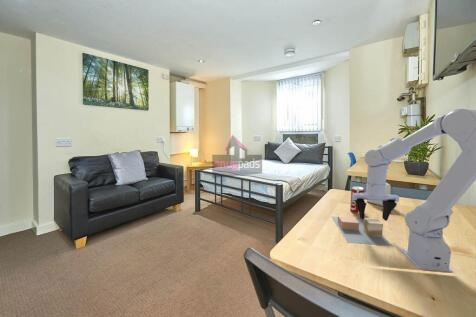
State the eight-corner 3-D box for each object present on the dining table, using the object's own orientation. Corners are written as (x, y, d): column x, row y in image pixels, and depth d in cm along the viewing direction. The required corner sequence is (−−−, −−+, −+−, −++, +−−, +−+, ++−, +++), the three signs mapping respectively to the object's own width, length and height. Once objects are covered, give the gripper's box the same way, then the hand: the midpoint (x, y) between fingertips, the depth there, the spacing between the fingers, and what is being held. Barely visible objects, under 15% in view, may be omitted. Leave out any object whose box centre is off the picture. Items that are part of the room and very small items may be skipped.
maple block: (382, 237, 75) (383, 223, 74) (368, 236, 76) (369, 222, 75) (376, 231, 79) (377, 218, 78) (363, 230, 80) (364, 217, 79)
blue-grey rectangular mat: (392, 247, 69) (393, 245, 69) (347, 243, 72) (347, 242, 72) (365, 219, 90) (365, 218, 90) (331, 217, 93) (331, 216, 93)
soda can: (364, 214, 95) (366, 189, 94) (352, 214, 96) (353, 189, 95) (360, 210, 100) (361, 186, 99) (348, 210, 102) (350, 186, 100)
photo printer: (390, 206, 106) (392, 182, 104) (386, 207, 104) (388, 183, 102) (370, 200, 115) (371, 178, 113) (365, 201, 113) (366, 179, 111)
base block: (358, 230, 80) (359, 222, 80) (341, 229, 81) (342, 221, 81) (353, 223, 86) (353, 216, 85) (337, 222, 87) (337, 215, 87)
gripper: (392, 180, 77) (389, 215, 79) (350, 179, 80) (348, 213, 82) (403, 185, 71) (400, 223, 72) (357, 184, 73) (354, 221, 75)
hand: (373, 218), depth 77 cm, fingers open, 7 cm apart
